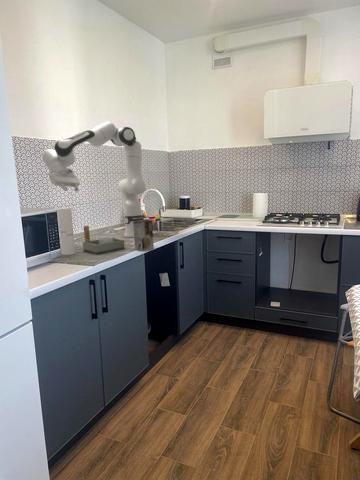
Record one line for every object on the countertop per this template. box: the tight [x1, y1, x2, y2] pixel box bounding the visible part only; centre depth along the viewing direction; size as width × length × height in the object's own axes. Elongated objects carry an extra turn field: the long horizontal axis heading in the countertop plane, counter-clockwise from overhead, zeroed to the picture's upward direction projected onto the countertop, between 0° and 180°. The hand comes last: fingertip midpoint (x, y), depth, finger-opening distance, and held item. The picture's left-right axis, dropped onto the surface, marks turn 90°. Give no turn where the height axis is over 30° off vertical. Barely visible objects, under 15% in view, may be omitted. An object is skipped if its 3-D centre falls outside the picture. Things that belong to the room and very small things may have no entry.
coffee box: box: [133, 219, 155, 252], centre depth 200 cm, size 9×6×16 cm
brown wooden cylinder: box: [83, 225, 91, 242], centre depth 209 cm, size 3×3×13 cm
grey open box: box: [82, 236, 125, 255], centre depth 204 cm, size 18×15×7 cm
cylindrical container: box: [56, 207, 76, 256], centre depth 195 cm, size 7×7×25 cm
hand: (71, 190), depth 211 cm, fingers open, 8 cm apart
